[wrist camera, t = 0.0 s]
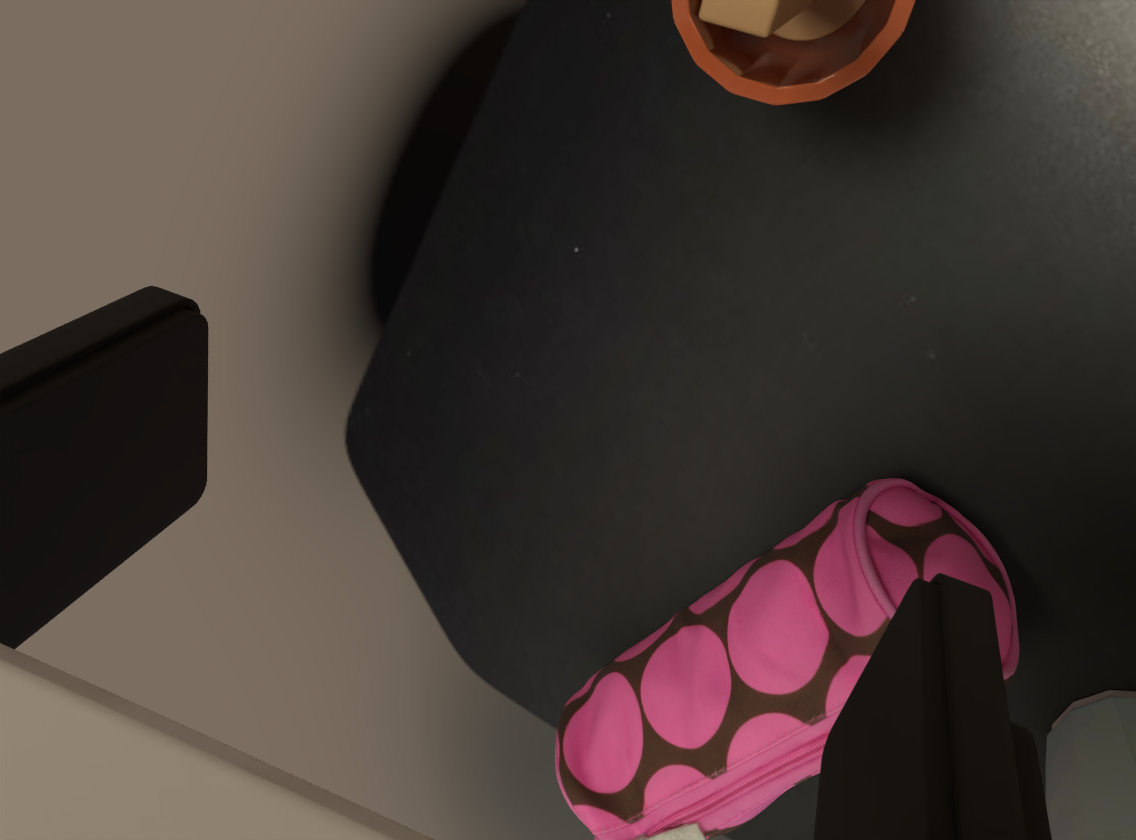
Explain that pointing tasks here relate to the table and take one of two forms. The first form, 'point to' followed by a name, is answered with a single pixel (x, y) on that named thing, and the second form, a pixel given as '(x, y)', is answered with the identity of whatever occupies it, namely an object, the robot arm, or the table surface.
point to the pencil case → (761, 669)
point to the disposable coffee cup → (1093, 769)
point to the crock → (792, 53)
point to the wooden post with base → (782, 16)
